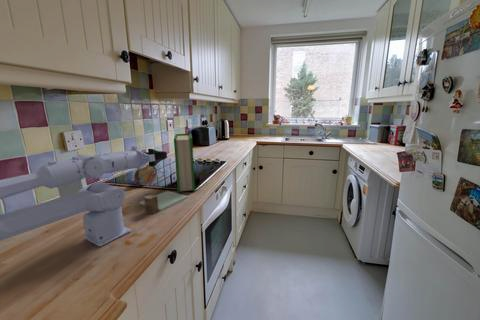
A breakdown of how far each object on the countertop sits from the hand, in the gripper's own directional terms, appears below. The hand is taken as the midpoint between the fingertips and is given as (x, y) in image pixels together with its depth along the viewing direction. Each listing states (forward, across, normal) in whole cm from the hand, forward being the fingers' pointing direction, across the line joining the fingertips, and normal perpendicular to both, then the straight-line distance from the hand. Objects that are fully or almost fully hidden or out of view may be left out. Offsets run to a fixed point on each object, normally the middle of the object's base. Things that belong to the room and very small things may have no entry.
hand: (158, 155), depth 80 cm
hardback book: (+24, +13, +18) cm, 33 cm away
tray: (+6, +8, +19) cm, 22 cm away
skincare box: (-12, +38, +16) cm, 44 cm away
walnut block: (-2, +4, +20) cm, 21 cm away
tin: (+18, +34, +16) cm, 41 cm away
